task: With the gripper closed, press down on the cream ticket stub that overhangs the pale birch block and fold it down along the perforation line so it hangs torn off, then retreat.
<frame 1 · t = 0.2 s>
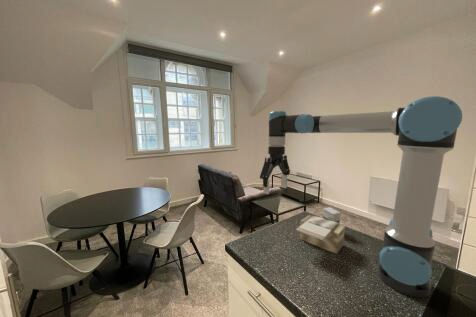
hand: (275, 190, 93), 27 cm above the worktop, fingers open, 13 cm apart
ticket block: (321, 241, 98), on the worktop
ink box: (330, 230, 111), on the worktop
stub: (313, 230, 89), point 10 cm above the worktop, hinge at 0.0°
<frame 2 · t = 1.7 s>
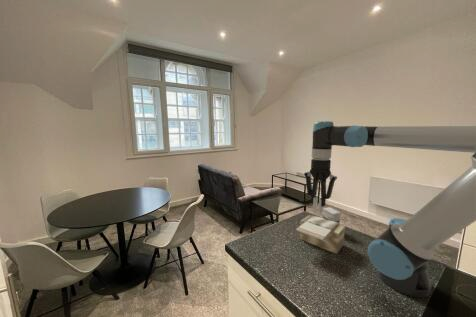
hand: (317, 211, 85), 20 cm above the worktop, fingers closed
nothing on the worktop moved.
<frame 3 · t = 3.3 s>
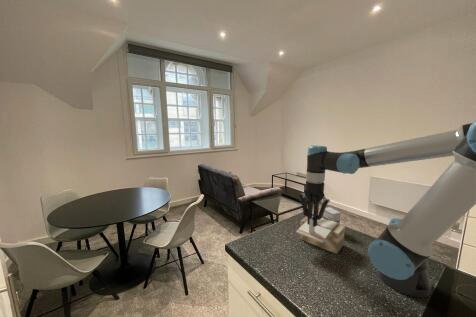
hand: (311, 231, 88), 10 cm above the worktop, fingers closed
stub: (313, 231, 90), point 10 cm above the worktop, hinge at -6.0°, touching gripper
everything else where it was.
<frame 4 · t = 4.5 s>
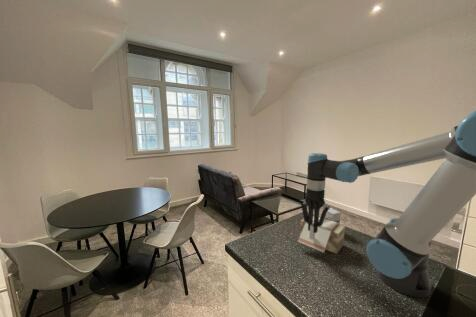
hand: (312, 238, 89), 7 cm above the worktop, fingers closed
stub: (314, 236, 91), point 7 cm above the worktop, hinge at -40.8°, touching gripper
everything else where it was.
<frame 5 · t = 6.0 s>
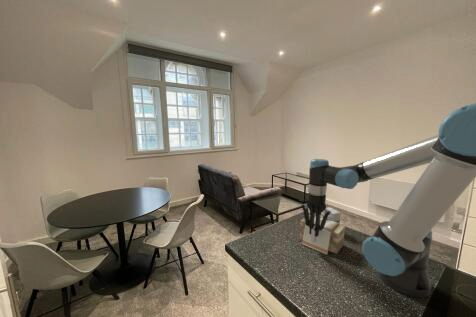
hand: (313, 241, 91), 4 cm above the worktop, fingers closed
stub: (315, 238, 93), point 5 cm above the worktop, hinge at -72.6°, touching gripper
everything else where it was.
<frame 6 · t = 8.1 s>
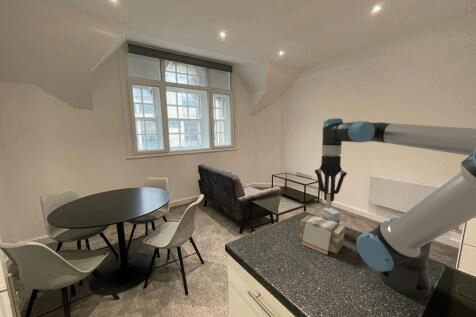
hand: (328, 207, 87), 22 cm above the worktop, fingers closed
stub: (315, 238, 93), point 5 cm above the worktop, hinge at -73.0°
everything else where it was.
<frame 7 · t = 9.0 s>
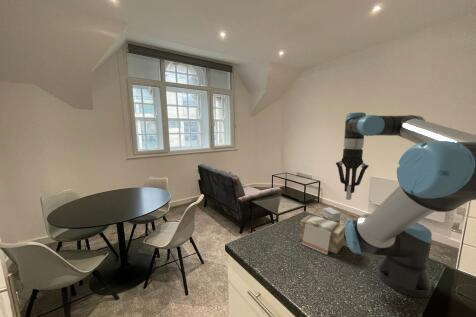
hand: (348, 198, 90), 24 cm above the worktop, fingers closed
nothing on the worktop moved.
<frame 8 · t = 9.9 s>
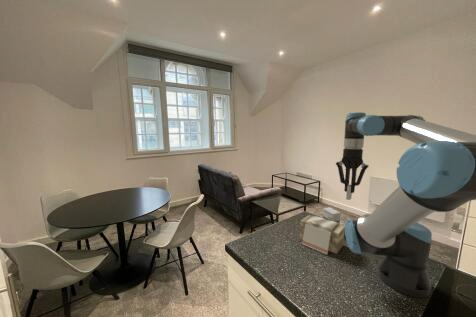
hand: (348, 198, 90), 24 cm above the worktop, fingers closed
nothing on the worktop moved.
at the end: stub at -73° (first picture: +0°) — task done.
